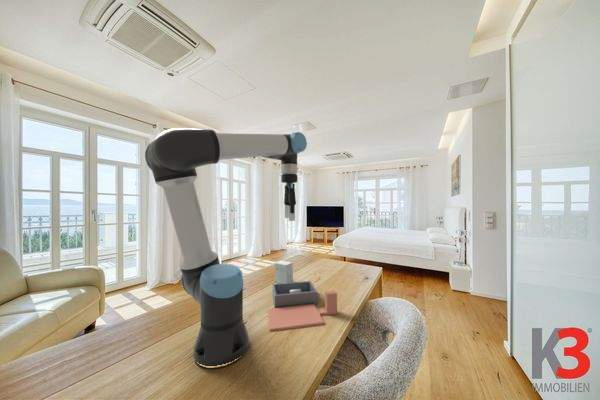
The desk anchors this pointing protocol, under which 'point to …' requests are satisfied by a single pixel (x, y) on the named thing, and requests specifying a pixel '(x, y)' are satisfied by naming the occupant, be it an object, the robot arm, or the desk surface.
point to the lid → (301, 314)
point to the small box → (283, 272)
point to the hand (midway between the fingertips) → (289, 219)
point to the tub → (294, 294)
